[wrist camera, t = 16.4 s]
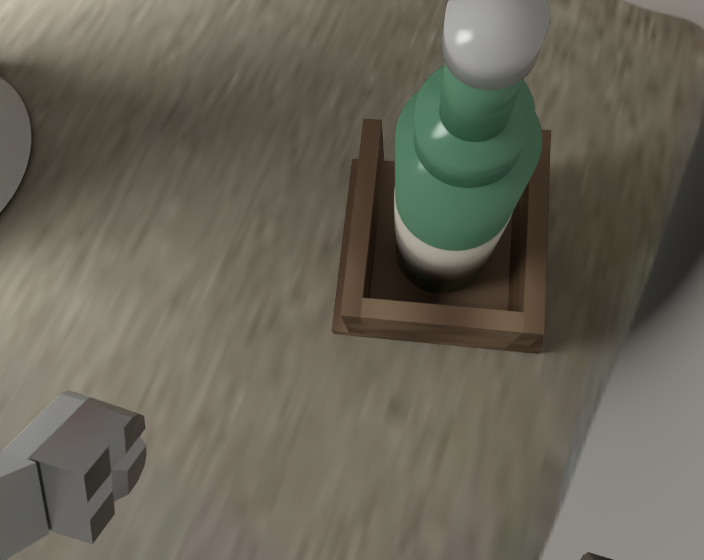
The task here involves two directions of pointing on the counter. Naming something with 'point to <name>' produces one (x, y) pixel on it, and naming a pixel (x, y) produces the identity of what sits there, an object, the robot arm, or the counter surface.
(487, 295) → the bottle stand
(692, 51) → the counter surface
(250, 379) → the counter surface
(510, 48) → the green bottle
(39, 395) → the counter surface
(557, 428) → the counter surface
